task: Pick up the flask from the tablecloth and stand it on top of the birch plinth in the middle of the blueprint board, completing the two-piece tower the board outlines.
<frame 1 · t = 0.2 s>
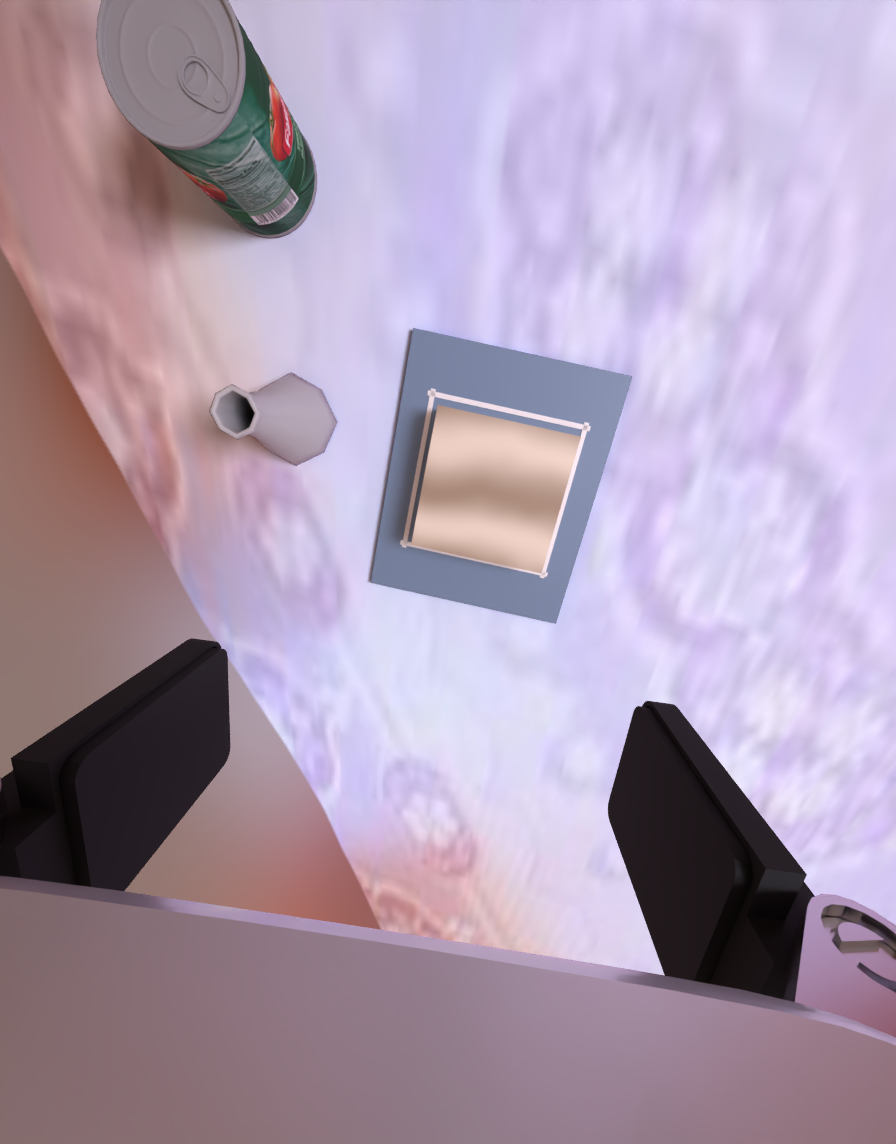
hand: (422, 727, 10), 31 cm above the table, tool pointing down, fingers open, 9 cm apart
blueprint board: (490, 487, 38), on the table
birch plinth: (491, 490, 36), on the blueprint board, point 3 cm above the table
flask: (296, 420, 38), on the table
canned tomato: (268, 179, 33), on the table
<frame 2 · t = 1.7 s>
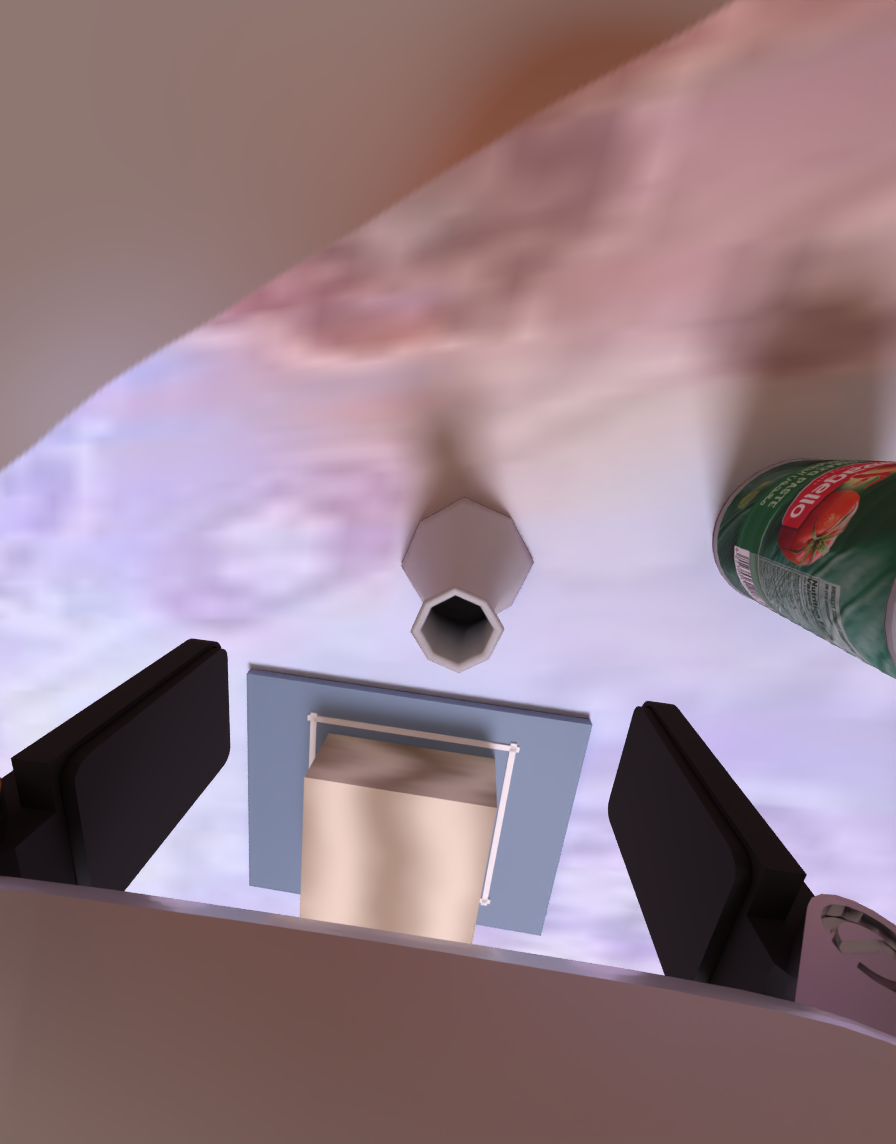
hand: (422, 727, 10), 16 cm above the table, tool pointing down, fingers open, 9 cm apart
blueprint board: (405, 806, 30), on the table
birch plinth: (398, 838, 28), on the blueprint board, point 3 cm above the table
flask: (466, 562, 25), on the table
canned tomato: (786, 533, 23), on the table
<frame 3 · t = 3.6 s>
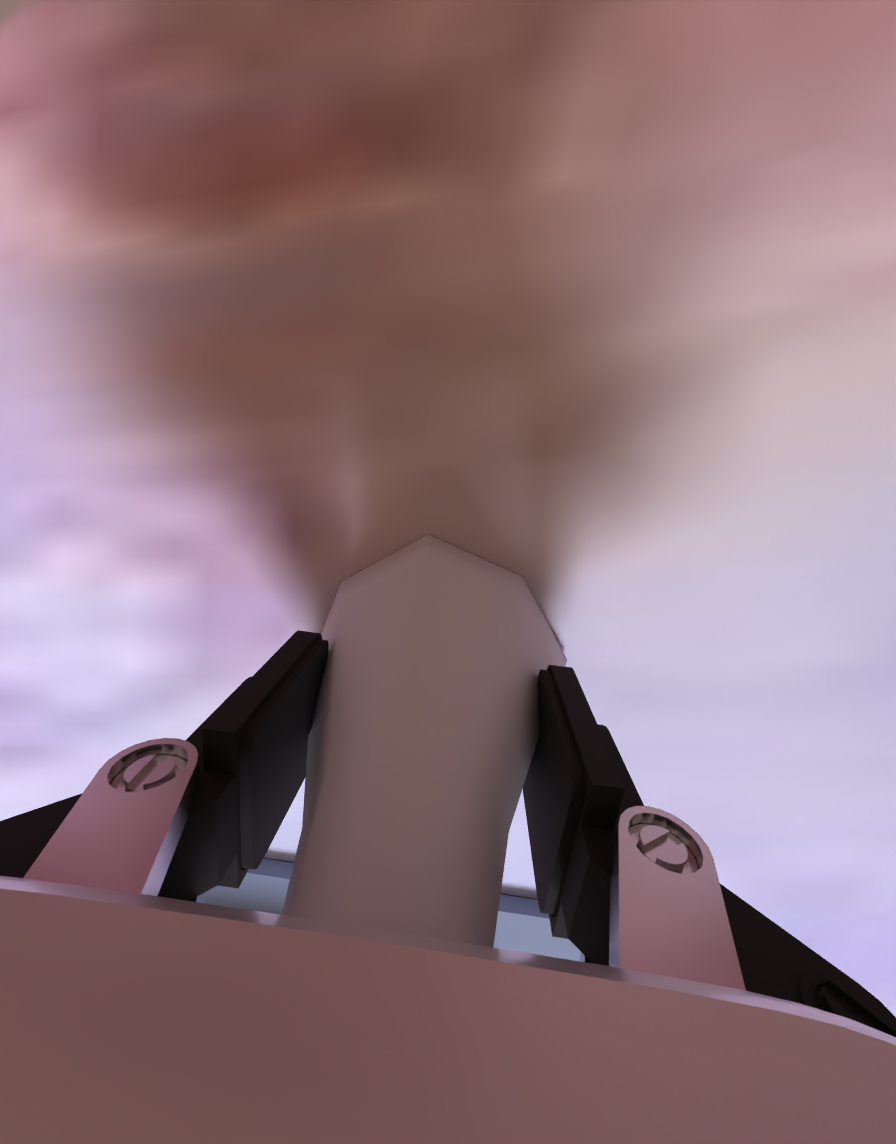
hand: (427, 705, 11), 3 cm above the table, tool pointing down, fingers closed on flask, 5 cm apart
blueprint board: (342, 1033, 18), on the table
flask: (436, 654, 13), on the table, touching gripper
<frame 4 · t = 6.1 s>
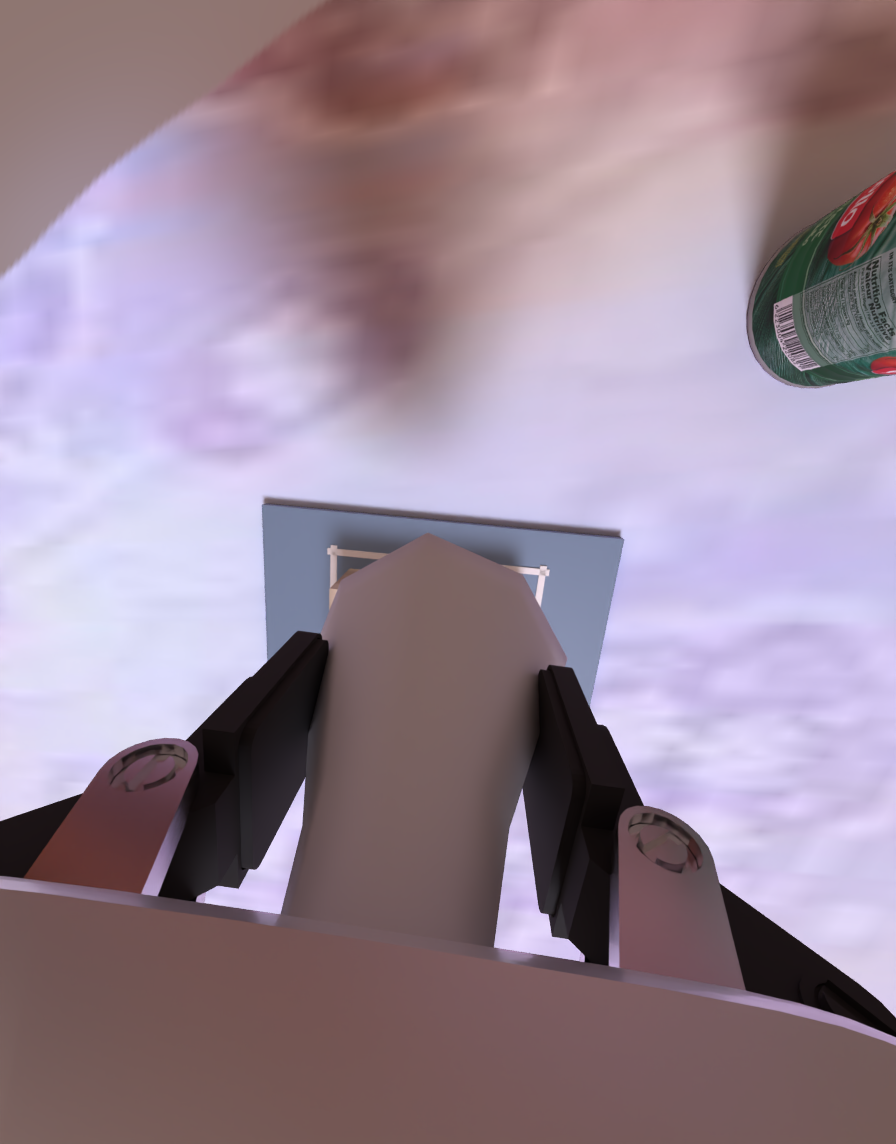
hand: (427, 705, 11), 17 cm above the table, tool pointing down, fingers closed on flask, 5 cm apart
blueprint board: (430, 651, 29), on the table
flask: (437, 652, 13), point 14 cm above the table, touching gripper
canned tomato: (822, 308, 23), on the table
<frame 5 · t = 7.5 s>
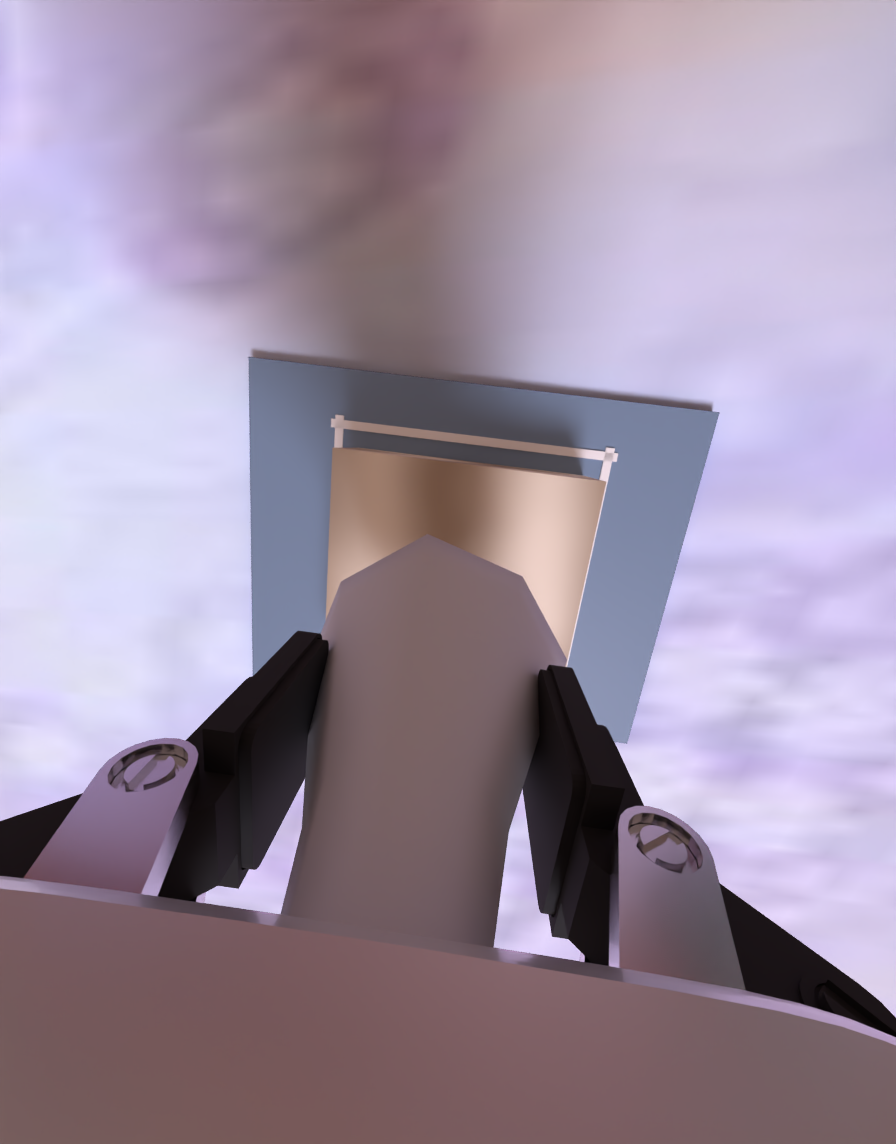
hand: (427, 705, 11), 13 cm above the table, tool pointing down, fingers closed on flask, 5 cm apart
blueprint board: (456, 566, 23), on the table
birch plinth: (454, 580, 21), on the blueprint board, point 3 cm above the table
flask: (436, 654, 13), point 10 cm above the table, touching gripper
when the fingers open (8 cm above the table, at t = 8.7 s): flask stays where it is, resting on birch plinth.
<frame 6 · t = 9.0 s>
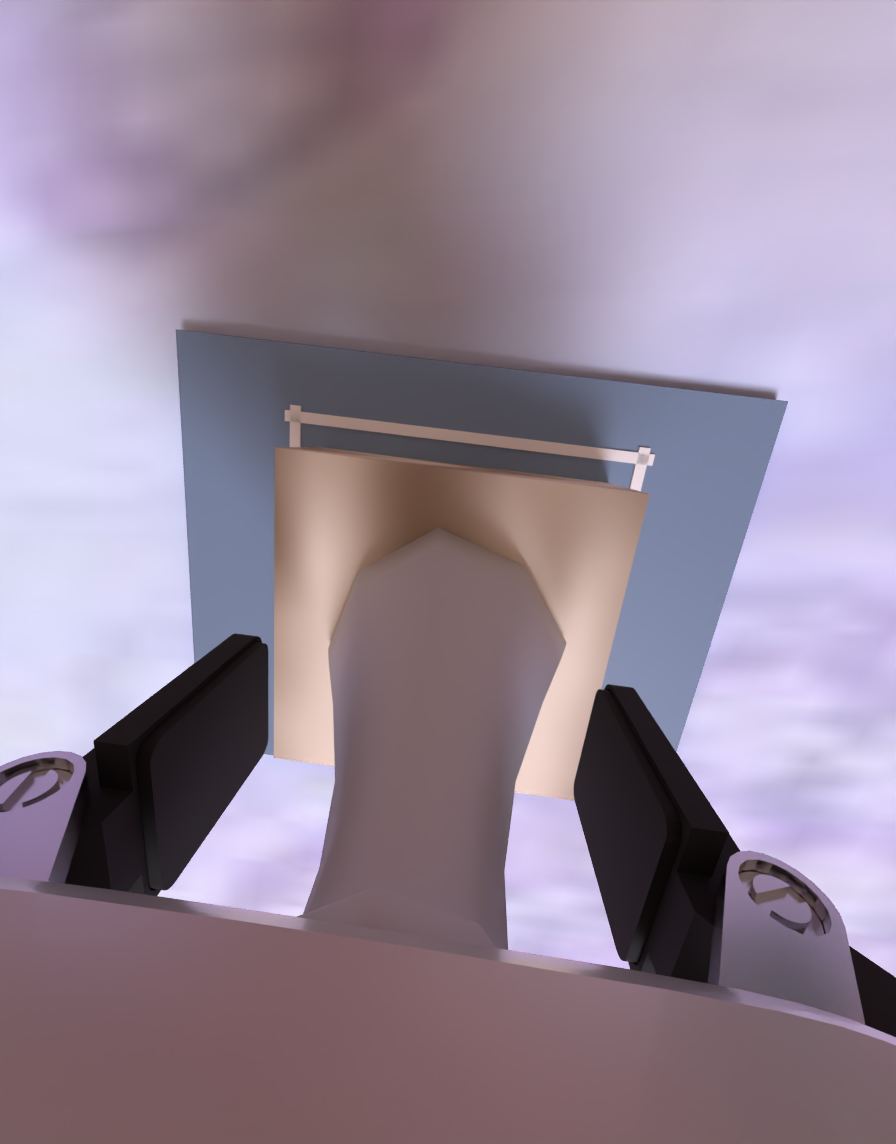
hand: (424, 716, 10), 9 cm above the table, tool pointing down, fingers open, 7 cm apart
blueprint board: (447, 595, 19), on the table
birch plinth: (443, 618, 16), on the blueprint board, point 3 cm above the table
flask: (445, 639, 14), point 4 cm above the table, touching birch plinth
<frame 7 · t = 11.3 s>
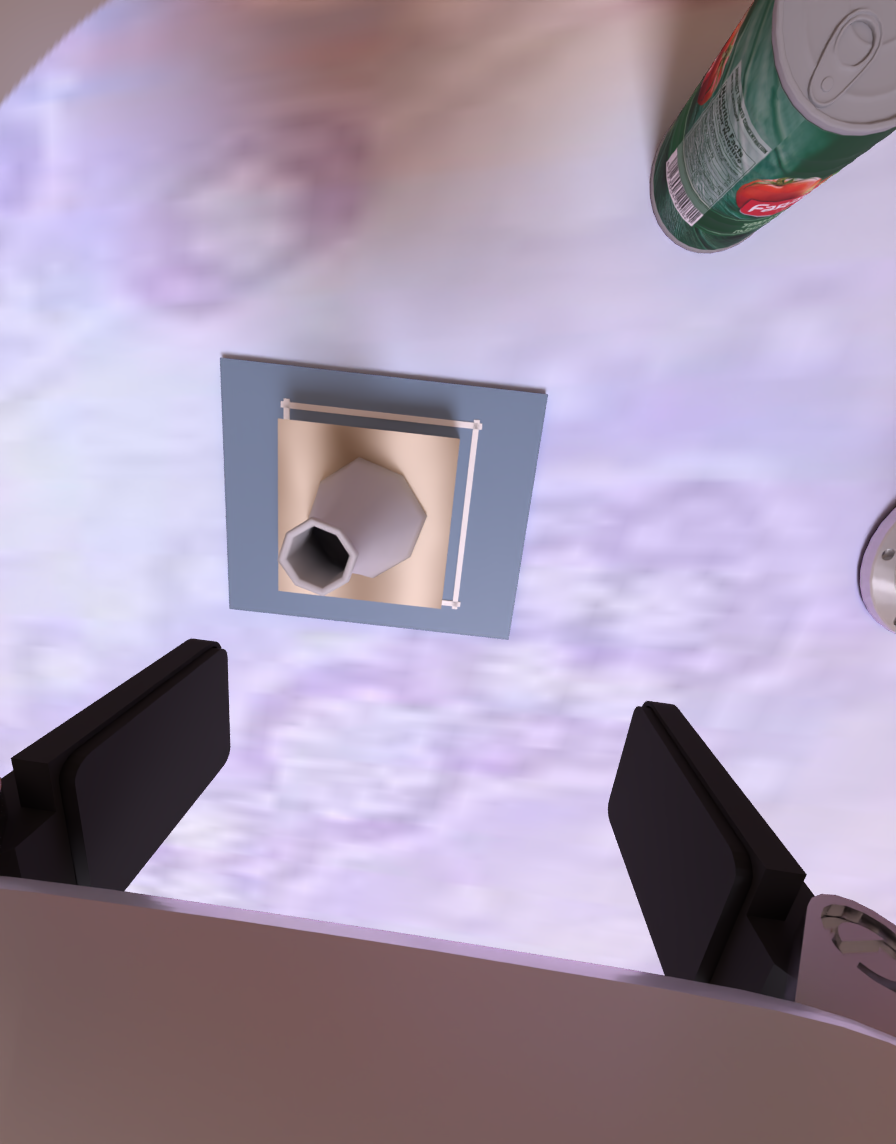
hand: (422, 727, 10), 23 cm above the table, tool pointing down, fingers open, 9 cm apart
blueprint board: (377, 509, 32), on the table
birch plinth: (370, 514, 29), on the blueprint board, point 3 cm above the table
flask: (368, 518, 28), point 4 cm above the table, touching birch plinth
canned tomato: (714, 179, 26), on the table
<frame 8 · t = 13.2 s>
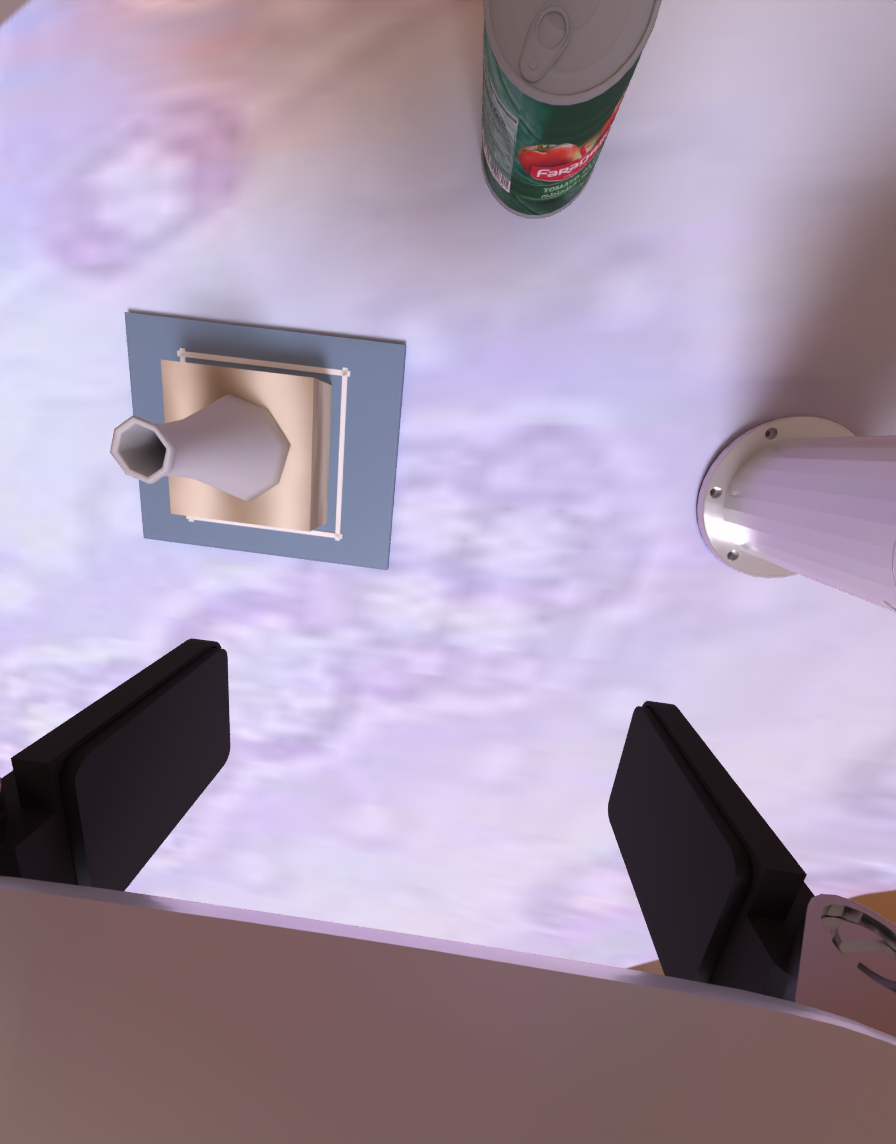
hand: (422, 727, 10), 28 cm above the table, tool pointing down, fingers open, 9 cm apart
blueprint board: (267, 449, 36), on the table
birch plinth: (252, 449, 34), on the blueprint board, point 3 cm above the table
flask: (242, 449, 32), point 4 cm above the table, touching birch plinth
canned tomato: (538, 153, 30), on the table
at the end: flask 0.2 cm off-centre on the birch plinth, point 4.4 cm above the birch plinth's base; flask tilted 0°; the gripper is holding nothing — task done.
